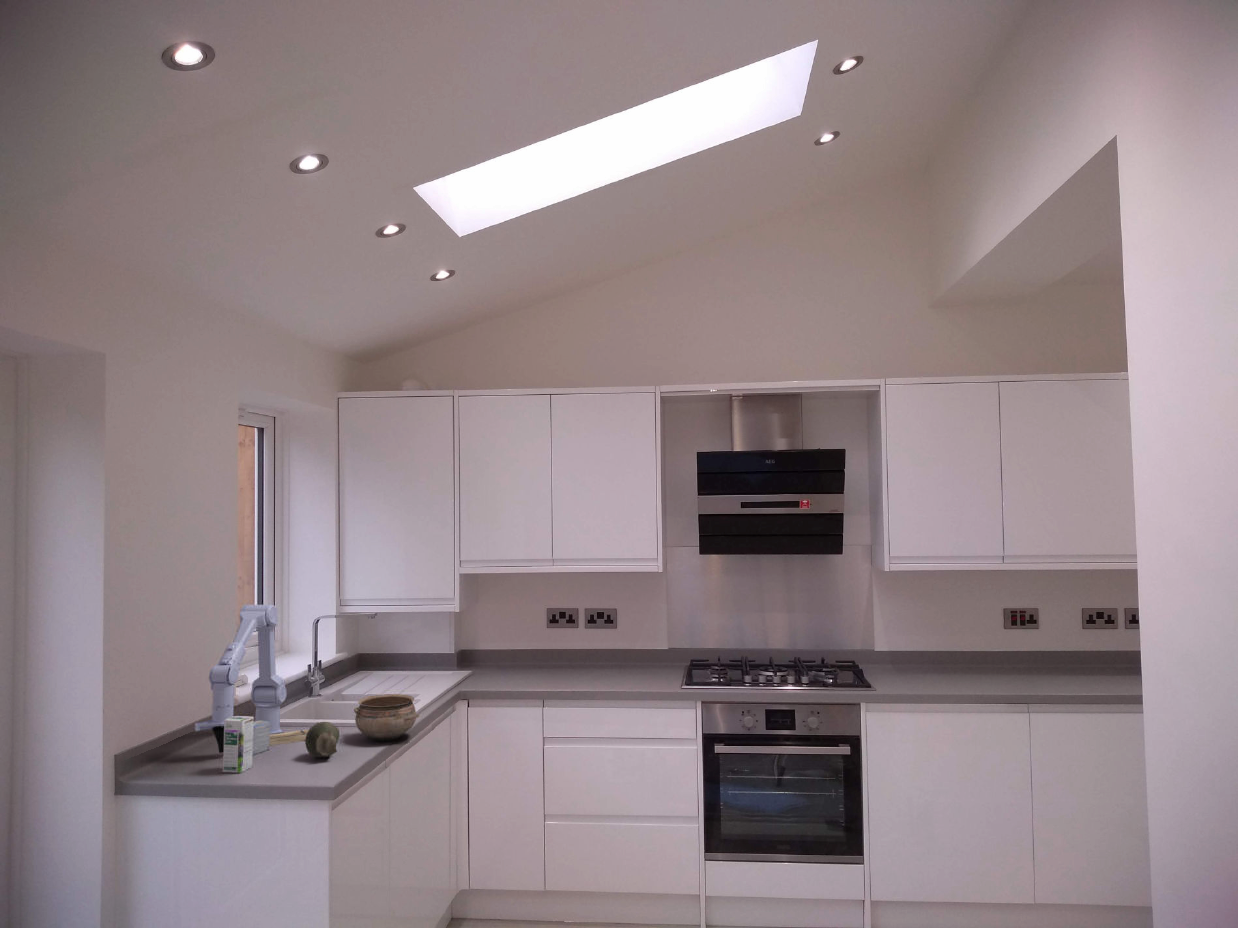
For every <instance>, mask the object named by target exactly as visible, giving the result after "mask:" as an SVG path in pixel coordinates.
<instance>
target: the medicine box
mask: <svg viewBox="0 0 1238 928" xmlns="http://www.w3.org/2000/svg"><path fill="white" fill-rule="evenodd" d="M270 735H271V734H270V722H267V721H260V720H259V721H256V722H255V721H254V722H253V753H252V757H253V756H255V755H258V754H261V753H262V752H266V751H269V750H270V746H269V742H270Z"/></svg>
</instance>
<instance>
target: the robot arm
mask: <svg viewBox="0 0 1238 928" xmlns="http://www.w3.org/2000/svg"><path fill="white" fill-rule="evenodd" d="M238 617H239V626H238V629H237V631H236V634H235V636H234V640H233V642H232V643H229V644H228V645H226V648H225V649H224V651H223V653H222V656H221V657H220V659H219V661H218V663H217V664H216V665H214V666H212V667H211V669H210V671H209V676H208V680H209V684H210V690H211V691H212V705H211V706H212V707H211V709H212V710H211V712H212V713H211V719H210V720H206V721H205V720H204V721H200V722H195V723H194V731H195V732H199V731H203V730H209V729H210V730H211V731H212V732H213V735H214V737H215V740H216V743H217V749H218V752H219V754H222V753H223V754H224V722H225V720H226V719H228V718H230V717H233V716H234V704H235V703H234V702H235V700H234V699H235V684H236V682H237V681H238V678H239V674H240V669H241V667H240V665H241V663H242V661H243V660H244V657H245V655H246V652H247V651H246V648H245V647H246V644H247V643H248V641H249V640H250V638H251V637H252V635H253V633H254V632H255V630H256V631H257V643H258V644H257V646H258V648H257V649H258V677H257V678H256V679H255V680H254V681H252V684H251V685H252V686H251V691H250V700H251V702H252V704H254V707H256V709H255V719H254V720H255V721H254V722H256V721H259V720H260V721H267V722H270V735H273V734H280V733H284V730H283V729H281V728H280V726H281V722H280V721H281V705H282V704H283V703H284V702H285V700H286V698H287V693H288V692H287V688H286V685H285V679H284V678H282V677H281V676H279V675H278V674H277V673H276V643H275V642H276V639H275V638H276V637H275V632H276V631H275V627H277V626H278V625H279V624H278V608H277V607H276V606H275V605H274V604H248V603H247V604H244V605H243V606H242V607H241V609H240V611H239V616H238Z"/></svg>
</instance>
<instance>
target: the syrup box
mask: <svg viewBox="0 0 1238 928" xmlns="http://www.w3.org/2000/svg"><path fill="white" fill-rule="evenodd" d="M254 720H255V719H254V716H244V715H243V716H241V715H235V716H234V715H233V717H230V718H228V719H226V720H225V722H224V753H223V757H222V758H223V759H222V761H223V762H222V773H232V774H233V773H237V774H241V773H244V772H245V771H247V770H249V769H251V768H252V767H253V756H252V753H253V722H255V721H254Z"/></svg>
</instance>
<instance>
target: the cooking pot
mask: <svg viewBox="0 0 1238 928" xmlns="http://www.w3.org/2000/svg"><path fill="white" fill-rule="evenodd" d="M414 701H415V697H414V696H412V695H407V694H401V693H400V694H398V693H393V694H392V693H390V694H389V693H388V694H387V693H386V694H377V695H370V696H367V697H363V698H361V699H359V700H358V701H357V703H358V705H359V706H356V707H354V708H353V711H354V713H355V718H354V720H355V721H354V722H355V726H356V728H357V729H358V731H360V732H361V733H362V734H364V736H367V737H368V738H371V739H373V740H375V741H376V740H377V741H376V742H391V741H395V740H396V739H397V738H399V737H401V736H402V735H404V734H405V733H407V732H409V731H410V730H411V729H412V728H413V726H414V725H415V723H416V720H417V718H419V717H420V714H419V713H417V711H416V707H415V705H414Z"/></svg>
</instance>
